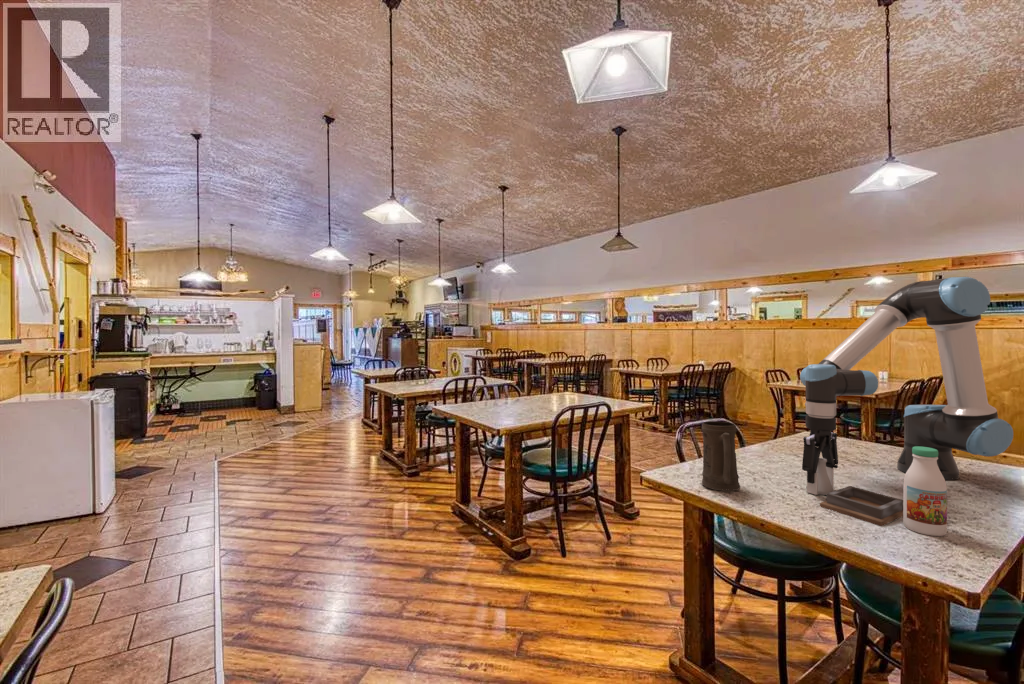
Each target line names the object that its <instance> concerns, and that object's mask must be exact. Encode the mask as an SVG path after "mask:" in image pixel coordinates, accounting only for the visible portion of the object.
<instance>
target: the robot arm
mask: <svg viewBox="0 0 1024 684" xmlns="http://www.w3.org/2000/svg"><path fill="white" fill-rule="evenodd" d="M989 305H991V295H990V291H989V289H988V288H987V286H986V285H985V284H984V283H983V282H982V281H980V280H977V279H976V278H974V277H969V276H953V277H951V276H950V277H944V278H940V279H939V278H938V279H937V278H936V279H930V280H922V281H921V280H920V281H916V282H912V283H908V284H907V285H904V286H902V287H901V288H899V289H897V290H896V291H893V293H891V294H890V295H889V296H887V297H886V298H885V299H883V300H882V301H881V302H880V303H878V305H877V306H876V307H875V308H874V313H873V314H872V315H870V316H869V318H867V319H866V320H865V321H864V322H863V323H862V324H861V325H860V326H859V327H857V328H856V329H855V330H854V331H853V332H852V333H851V334H849V336H847V337H846V338H845V339H844V340H843V341H842V342H840V344H838V345H837V346H836V347H835V348H834V349H833V350H832V351H831V352H830V353H829V354H828V355H826V356H825V357H824V358H823V359H822V360H821V361H820V362H819V363H814V364H813V363H812V364H811V363H810V364H809V365H807V366H806V367H804V368H803V369H802V370H801V372H800V375H799V378H800V382H801V383H802V384H803V386H805V403H804V406H805V413H806V415H805V427H806V428H807V429H809V430H810V432H809V436H803V439H802V440H803V453H802V455H803V456H802V463H801V470H802V471H805V472H806V487H807V488H806V493H808V494H811V495H815V496H819V494H818V473H817V472H816V471H817V466H818V462H819V458H824V459H827V462H826V470H827V474H828V477H829V480H830V482H831V485H832V487H833V490H834V489H835V488H834V487H835V486H834V479H835V478H834V472H835V471H834V469H838V468H839V466H838V464H839V455H838V443H837V440H838V433H837V432H835V431H836V429H837V418H836V416H837V397H841V396H843V397H844V396H852V397H853V396H856V397H857V396H860V397H863V396H870V395H873V394H874V393H876V392H877V390H878V389H879V380H878V377H877V376H876V374H875V373H874V372H872V371H870V370H862V369H857V370H851V369H853V367H855V366H856V365H857V364H858V363H859V362H860V361H861V360H862V359H864V358H865V357H866V356H867V355H868V354H869V353H870V352H871V351H873V350H874V349H875V348H876V347H877V346H878V345H879V344H881V343H882V341H884V340H885V339H886V338H887V337H888V336H889V335H890V334H891V333H893V331H895V330H896V329H897V328H901V327H902V328H903V327H904V326H905V325H907V324H908V323H909V322H911V321H912V320H913V321H914V320H916V319H920V318H925V319H926V320H925V321H926V325H927V327H930V328H931V329H933V330H934V334H935V339H936V345H937V350H938V354H939V355H938V356H939V360H940V369H941V373H942V378H943V383H944V390H945V394H946V403H947V404H909V405H906V406H905V408H904V414H903V441H904V442H903V449H902V451H901V453H900V455H899V457H898V459H897V462H896V463H897V464H896V466H897V467H896V468H897V470H899V471H901V472H903V473H905V474H906V472H907V470H908V469H909V467H910V466H911V464H912V462H913V456H912V454H913V453H912V448H913V447H915V446H921V447H929V448H933V449H936V450H938V459H937V465H938V467H939V470H940V472H941V473H942V475H943V477H944V479H945V481H947V480H949V481H952V480H957V479H959V478H960V470H959V467H958V465H957V462H956V460H955V457H954V455H953V450H957V451H960V452H965V453H969V454H971V455H978V456H982V457H995V456H998V455H1001V454H1003V453H1004V452H1005V451H1006V450H1007V449H1008V448H1009V447H1010V446H1011V444H1012V442H1013V440H1014V429H1013V427H1012V425H1011V424H1010V423H1009V422H1008V421H1006V420H1004V419H1002V418H999V416H998V415H999V414H998V410H997V408H996V407H994V406H992V405H991V404H989V400H988V395H987V389H986V382H985V377H984V373H983V372H984V370H983V365H982V361H981V354H980V348H979V341H978V336H977V330H976V325H977V324H978V323H979V322H981V320H982V316H981V315H983V314H984V313H985V312H987V310H988V308H989V307H988V306H989ZM833 431H834V432H833ZM821 456H822V457H821ZM834 491H835V490H834Z"/></svg>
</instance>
